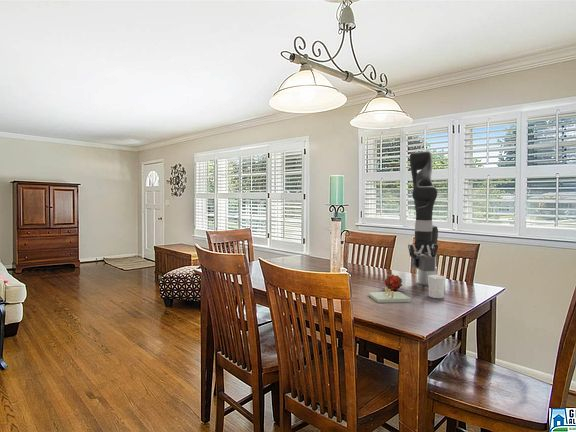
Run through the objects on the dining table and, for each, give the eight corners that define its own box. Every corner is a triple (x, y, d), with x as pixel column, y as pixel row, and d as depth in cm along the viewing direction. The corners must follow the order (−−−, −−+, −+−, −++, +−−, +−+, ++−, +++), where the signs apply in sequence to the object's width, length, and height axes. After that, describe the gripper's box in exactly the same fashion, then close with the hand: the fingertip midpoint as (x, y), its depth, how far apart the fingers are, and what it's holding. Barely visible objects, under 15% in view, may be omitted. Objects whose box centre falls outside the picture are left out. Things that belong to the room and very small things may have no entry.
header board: (399, 294, 181) (399, 285, 181) (410, 301, 169) (411, 292, 169) (368, 295, 179) (368, 286, 178) (378, 302, 167) (378, 293, 167)
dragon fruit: (398, 290, 195) (390, 298, 186) (385, 279, 198) (377, 287, 189) (407, 279, 191) (400, 287, 182) (394, 268, 194) (386, 276, 185)
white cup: (444, 295, 181) (444, 275, 181) (445, 299, 174) (446, 278, 173) (427, 293, 184) (428, 274, 183) (427, 297, 176) (428, 277, 176)
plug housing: (420, 265, 173) (421, 253, 173) (434, 271, 161) (435, 257, 161) (410, 266, 172) (411, 253, 172) (424, 271, 161) (424, 257, 160)
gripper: (433, 229, 171) (432, 264, 172) (405, 229, 168) (403, 265, 169) (442, 230, 163) (441, 268, 164) (412, 230, 161) (411, 268, 162)
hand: (422, 266), depth 167 cm, fingers closed on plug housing, 5 cm apart
